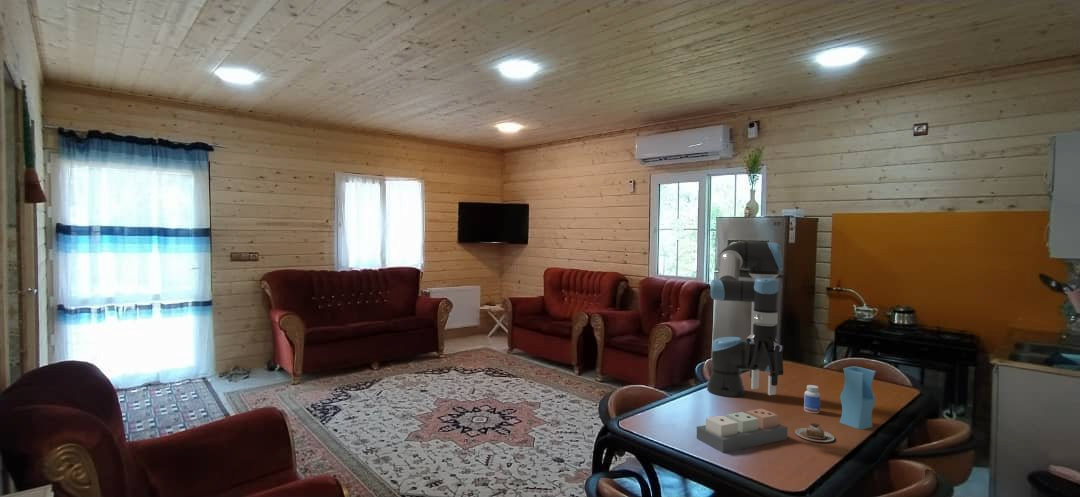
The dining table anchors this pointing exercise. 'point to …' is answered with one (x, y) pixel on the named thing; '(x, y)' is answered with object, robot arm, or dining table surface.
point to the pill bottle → (812, 399)
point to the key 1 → (721, 426)
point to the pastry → (814, 433)
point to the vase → (857, 397)
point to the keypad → (742, 438)
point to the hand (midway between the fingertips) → (763, 391)
